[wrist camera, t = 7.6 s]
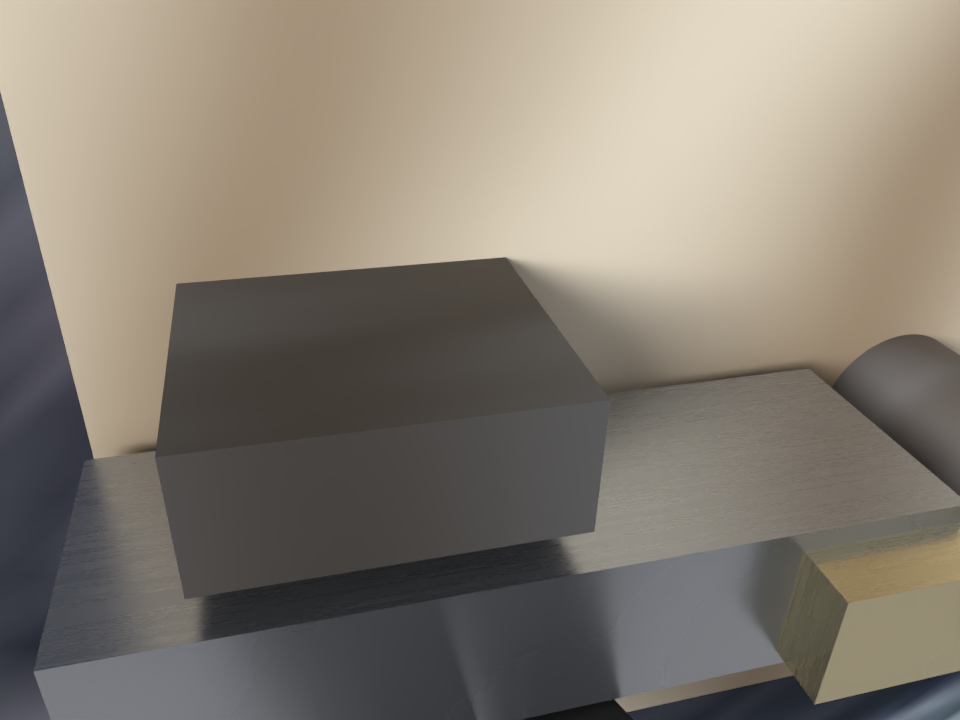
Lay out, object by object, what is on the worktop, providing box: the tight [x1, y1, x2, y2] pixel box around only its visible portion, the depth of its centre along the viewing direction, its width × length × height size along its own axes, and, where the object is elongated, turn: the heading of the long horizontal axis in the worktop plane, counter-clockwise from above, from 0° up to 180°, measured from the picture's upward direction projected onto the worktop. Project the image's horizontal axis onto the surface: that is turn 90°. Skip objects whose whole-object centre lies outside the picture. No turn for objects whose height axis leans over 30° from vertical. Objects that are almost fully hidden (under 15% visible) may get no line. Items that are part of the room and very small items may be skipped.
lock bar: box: [33, 369, 960, 720], centre depth 8 cm, size 10×3×3 cm, turn 89°
